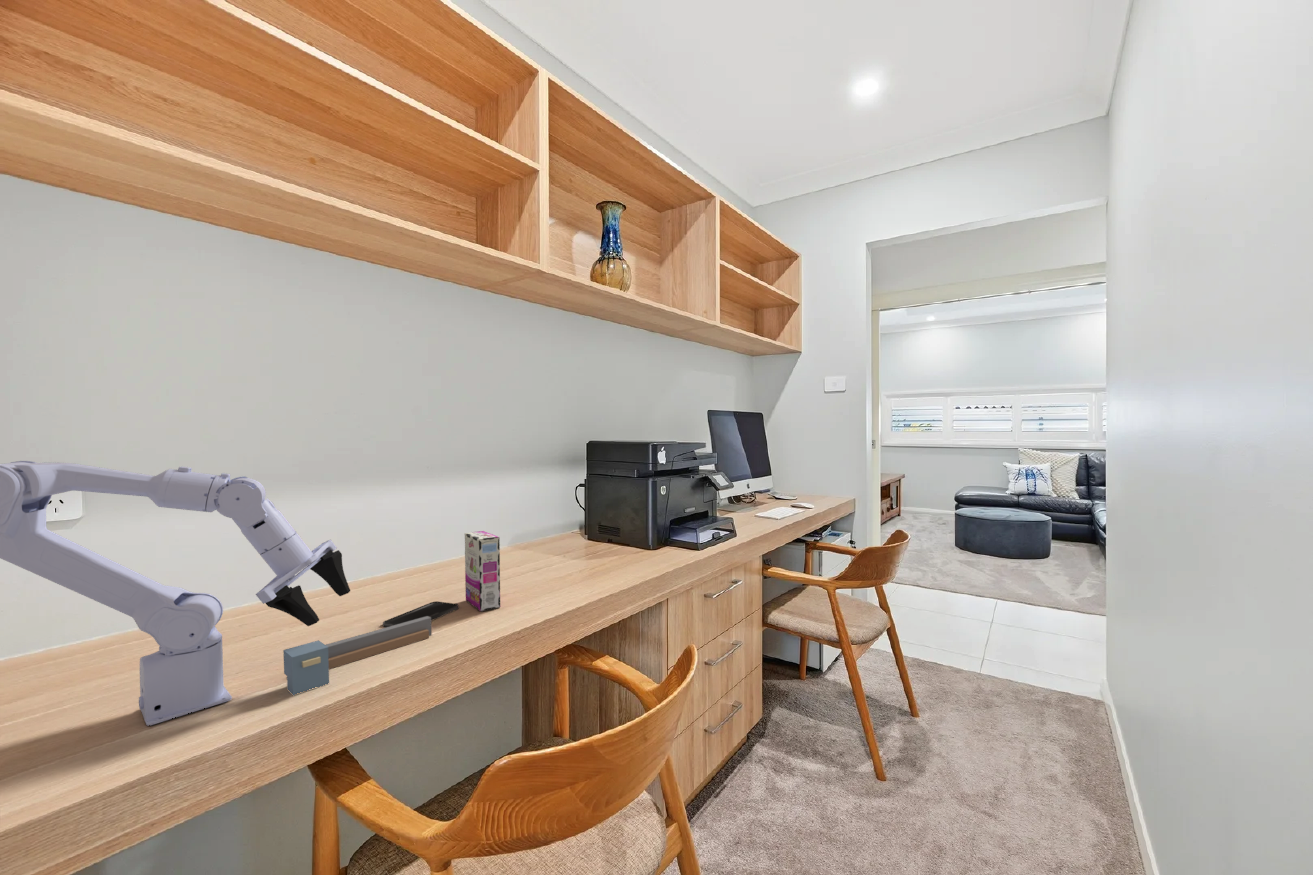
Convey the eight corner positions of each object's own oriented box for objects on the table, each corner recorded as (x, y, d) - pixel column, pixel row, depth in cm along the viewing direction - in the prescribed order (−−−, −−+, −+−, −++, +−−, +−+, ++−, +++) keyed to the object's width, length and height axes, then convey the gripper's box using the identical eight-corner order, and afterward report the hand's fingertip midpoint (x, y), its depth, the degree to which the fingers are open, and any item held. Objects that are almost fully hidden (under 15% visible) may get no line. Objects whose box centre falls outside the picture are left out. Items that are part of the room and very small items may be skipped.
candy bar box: (502, 607, 123) (500, 536, 123) (480, 612, 120) (478, 539, 120) (485, 596, 132) (483, 529, 131) (464, 600, 129) (463, 532, 128)
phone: (380, 622, 112) (434, 600, 126) (380, 628, 112) (434, 605, 126) (408, 627, 109) (460, 604, 123) (408, 632, 109) (461, 609, 123)
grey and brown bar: (320, 672, 91) (319, 651, 91) (314, 667, 93) (314, 647, 93) (434, 636, 106) (433, 618, 106) (427, 633, 108) (427, 616, 108)
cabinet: (294, 697, 83) (293, 658, 83) (284, 687, 86) (283, 649, 86) (330, 685, 86) (329, 648, 86) (319, 675, 90) (318, 640, 90)
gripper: (258, 560, 79) (315, 630, 82) (327, 512, 92) (374, 574, 96) (226, 576, 80) (284, 643, 84) (298, 526, 94) (345, 586, 97)
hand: (330, 607), depth 90 cm, fingers open, 7 cm apart
